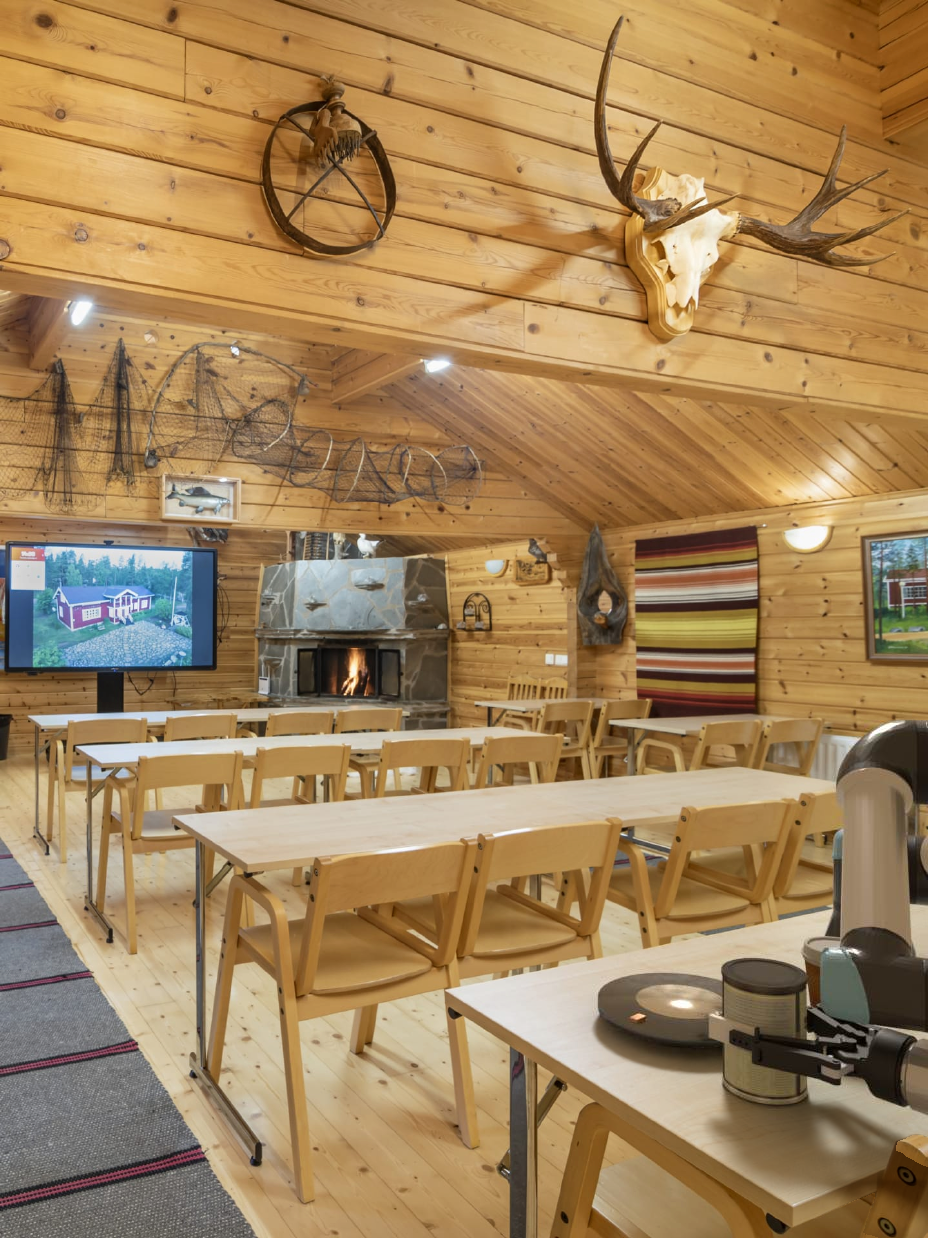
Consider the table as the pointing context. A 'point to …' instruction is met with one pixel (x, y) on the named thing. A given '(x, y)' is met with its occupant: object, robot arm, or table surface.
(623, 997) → the turntable platter
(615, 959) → the table surface
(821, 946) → the disposable coffee cup
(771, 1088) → the coffee can
